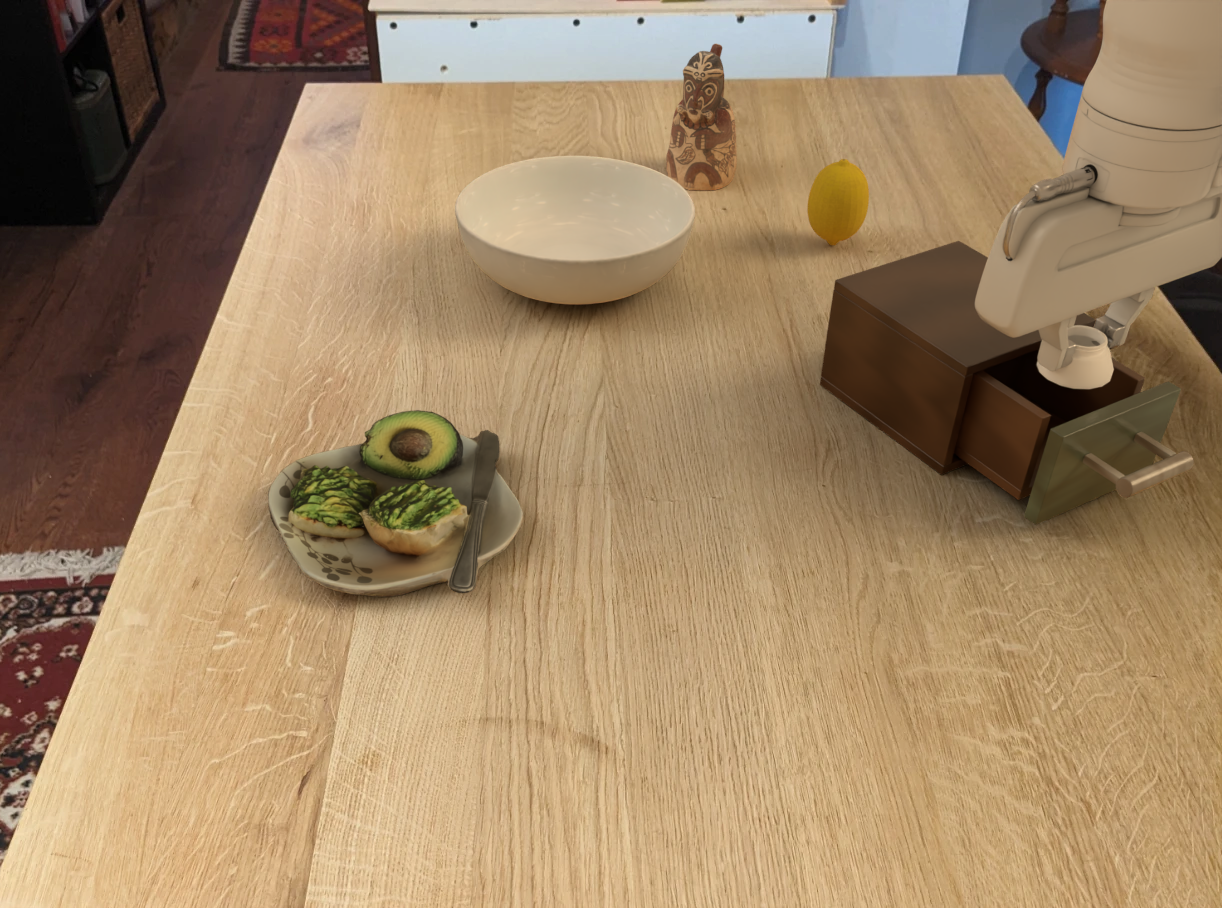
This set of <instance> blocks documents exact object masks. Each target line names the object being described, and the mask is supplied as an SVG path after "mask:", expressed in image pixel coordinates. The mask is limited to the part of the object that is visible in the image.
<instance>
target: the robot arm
mask: <svg viewBox="0 0 1222 908" xmlns="http://www.w3.org/2000/svg"><path fill="white" fill-rule="evenodd" d="M1102 14H1103V15H1102V40H1101V46H1100V50H1099V53H1098V56H1097V58H1096V61H1095V63H1094V65H1093V67H1092V69H1091V70H1090V71H1089V73H1088V76H1087V77H1086V79H1085V82H1084V84H1083V87H1082V91H1081V94H1080V97H1079V102H1078V105H1077V110H1076V114H1075V117H1074V121H1073V124H1072V127H1071V132H1070V136H1069V139H1068V143H1067V146H1066V151H1065V154H1064V158H1063V163H1062V166H1061V170H1062V175H1060V176H1057V177H1054V178H1046V179H1042V180H1039V181H1037V182H1035V183H1033V184H1032V185H1031V186H1030V188H1029V190H1028V193H1026V194H1025V195H1024V196H1023V197H1022V198H1021V199H1020V200H1019V201H1018V202H1017V203H1016V204H1014V205H1013V206H1012V207H1011V209H1010V211H1008V213H1007V214H1006V216H1005V217H1004V218H1003V221H1002V222H1001V224H1000V225H999V228H998V231H997V232H996V235H995V237H994V240H993V243H992V245H991V248H990V250H989V253H988V256H987V257H988V259H987V262H986V265H985V268H984V271H983V274H982V277H981V281H980V284H979V287H978V291H977V294H976V298H975V309H976V311H977V313H978V315H979V317H980V318H981V319H982V320H983V321H984V322H986V323H987V324H989V325H990V326H992V327H993V328H995V329H997V330H998V331H1000V332H1002V333H1003V334H1005V335H1007V336H1009V337H1013V338H1015V337H1019V336H1022V335H1025V334H1028V333H1031V332H1033V331H1036V330H1039V333H1040V336H1041V339H1042V342H1041V345H1040V349H1039V352H1038V356H1037V359H1038V362H1039V364H1040V365H1042V366H1043V367H1045V368H1046V369H1048V370H1050V371H1055V370H1058V369H1061V368H1063V367H1066V366H1068V365H1069V364H1071V363H1072V360H1073V359H1072V356H1073V355H1074V353H1075V350H1076V347H1077V344H1076V343H1074V342H1072V341H1071V340H1068V334H1067V327H1068V328H1070V327H1073V325H1074V323H1075V320H1076V317H1077V315H1080V314H1083V313H1085V314H1086V313H1089V312H1091V311H1093V310H1096V309H1099V308H1102V307H1104V306H1107V305H1109V307H1108V308H1107V310H1106V312H1105V314H1104V315H1102V316H1099V317H1098V318H1095V320H1096V321H1095V324H1094V328H1095V329H1098V330H1100V331H1101V332H1103V333H1104V334H1105V335H1106V337H1107V341H1108V343H1107V345H1108V348H1109V350H1110V351H1111V350H1112V349H1115V348H1118V347H1120V346H1123V345H1124V344H1126V340H1127V337H1128V334H1129V331H1130V328H1131V325H1132V324H1134V322H1135V321H1136V319H1137V318H1138V317H1139V315H1140V314H1141V313H1142V312H1143V310H1144V309H1145V308H1146V307H1147V305H1148V303H1150V301H1151V300H1152V298H1153V296H1154V294H1155V290H1156V287H1159V286H1162V285H1165V284H1168V283H1171V282H1173V281H1176V280H1179V279H1182V278H1185V277H1187V276H1190V275H1193V274H1195V273H1199V272H1200V271H1204V270H1207V269H1209V268H1212V267H1214V266H1216V265H1217V263H1219V261H1220V260H1221V259H1222V0H1106V1H1105V5H1104V9H1103V13H1102ZM1091 342H1092V343H1093V344H1094V345H1096V346H1099V345H1100V343H1098V342H1097V341H1091Z"/></svg>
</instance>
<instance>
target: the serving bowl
mask: <svg viewBox="0 0 1222 908" xmlns="http://www.w3.org/2000/svg"><path fill="white" fill-rule="evenodd" d="M454 215H455V219H456V220H455V221H456V224H457V228H458V232H459V235H460V238H461V240H462V243H463V246H464V248H465V250H466V251H467V253H468V255H469V257H470V258H471V260H472V261H473V262H474V264H476V266H477V267H478V268H479V270H481V271H482V273H484V274H485V276H487V277H488V278H490V279H491V280H492V281H493V282H495V283H496V284H498V285H499V286H501V287H503V288H504V289H506V290H508V291H511V292H512V293H514V294H517V295H519V296H522V297H525V298H527V299H531V300H532V299H533V300H536V301H540V302H546V303H551V304H559V305H560V304H561V305H592V304H593V305H594V304H601V303H609V302H613V301H617V300H622V299H625V298H627V297H631V296H633V295H636V294H639V293H641V292H643V291H645V290H647V289H649V288H650V287H652V286H654V285H655V284H656V283H658V282H659V281H661V280H662V279H664V278H665V277H666V276H667V275H668V274H669V273H670V272H671V271H672V269H673V268H674V267H675V266H676V265H677V263H678V262H679V261H680V259H681V258H682V256H683V254H684V252H685V250H686V249H687V247H688V244H689V241H690V239H691V236H692V231H693V227H694V223H695V219H696V207H695V202H694V201H693V198H692V197H691V196H690V193H689V192H688V191H687V189H684V188H683V187H682V186H681V185H680V184H679V183H677V182H676V181H674V180H673V179H671V178H670V177H668V175H666V174H664V173H662V172H660V171H658V170H655V169H653V168H650V167H648V166H645V165H641V164H638V163H634V162H632V161H626V160H622V159H617V158H611V157H603V156H602V157H601V156H593V155H556V156H555V155H554V156H543V157H533V158H529V159H524V160H523V159H522V160H520V161H515V162H514V161H513V162H511V163H507V164H504V165H501V166H498V167H495V168H493V169H490V170H489V171H486V172H483V173H482V174H481V175H479V176H478V177H475V178H474V179H473V180H471V181H470V182H469V183H468V184H467V185H465V186H464V187H463V189H462V190H461V191H460V193H458V196H457V198H456V201H455V204H454Z"/></svg>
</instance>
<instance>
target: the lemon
mask: <svg viewBox="0 0 1222 908" xmlns="http://www.w3.org/2000/svg"><path fill="white" fill-rule="evenodd" d="M869 189H870V188H869V183H868V179H867V177H866V174H865V173H864V172H863V171H862V169H861V168H859V166H857V165H856V164H854V163H852V162H850V161H849V160H848V159H847V158H840V160H838V161H834V162H831V163H830V164H827V165H825V167H824V168H822V169H821V170H820V171H819V172H818V174H817V175H816V176H815V178H814V180H813V183H812V185H811V187H810V190H809V194H808V199H807V208H806V209H807V218H808V223H809V225H810V227H811V229H812V231H813V232H814V233H815V235H817V236H818V237H819V238H820V239H823V240H824V241H826V242H827V243H828V245H830V246H836V245H837V244H838V243H839V242H842V241H846V240H848V239H851V238H852V237H853V236H854V235H855V234H857V233H858V231H859V230H860V228H861V227H862V226H863V224H864V222H865V220H866V217H867V214H868V209H869V203H870V202H869V201H870V190H869Z"/></svg>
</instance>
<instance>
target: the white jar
mask: <svg viewBox="0 0 1222 908" xmlns="http://www.w3.org/2000/svg"><path fill="white" fill-rule="evenodd" d="M1067 334H1068V340H1071V341H1072V342H1074V343H1076V344H1077V347H1076V350H1075V353H1074V355H1073V356H1072V359H1073V360H1072V363H1071V364H1069V365H1068V366H1066V367H1063V368H1061V369H1058V370H1055V371H1050V370H1048V369H1046V368H1045V367H1043V366H1042V365H1040V364H1039V362H1038V361H1037V367H1038V370H1039V372H1040V373H1041V374H1042V375H1043V376H1044V377H1045V378H1046V379H1048V380H1050V381H1052V382H1054V383H1056V384H1058V385H1060V386H1064V387H1068V388H1073V389H1093V388H1097V387H1102V386H1103V385H1105V384H1107V383H1108V382H1110V379H1111V377H1112V374H1113V371H1114V368H1113V363H1112V358H1113V357H1112V353H1111V349H1110V350H1109V348H1108V345H1107V343H1108V341H1107V337H1106V335H1105V334H1104V333H1103V332H1101V331H1100V330H1098V329H1095V328H1093V327H1089V326H1082V325H1075V326H1073V327H1070V328H1068V327H1067ZM1091 341H1097V342H1098V343H1100V345H1099V346H1096V345H1094V344H1093V343H1092V342H1091Z"/></svg>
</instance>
